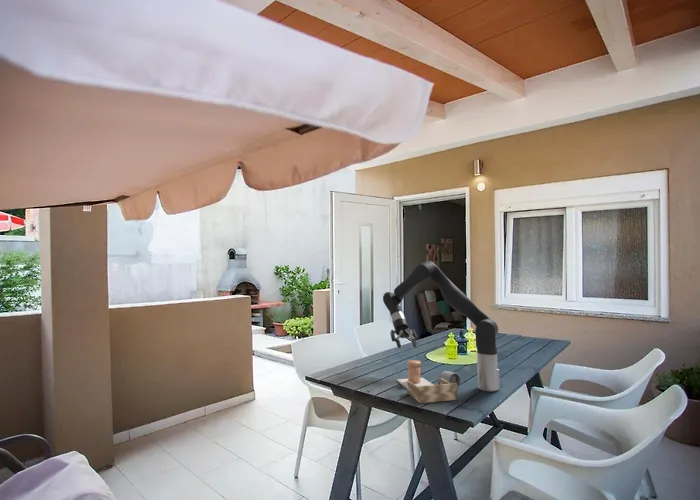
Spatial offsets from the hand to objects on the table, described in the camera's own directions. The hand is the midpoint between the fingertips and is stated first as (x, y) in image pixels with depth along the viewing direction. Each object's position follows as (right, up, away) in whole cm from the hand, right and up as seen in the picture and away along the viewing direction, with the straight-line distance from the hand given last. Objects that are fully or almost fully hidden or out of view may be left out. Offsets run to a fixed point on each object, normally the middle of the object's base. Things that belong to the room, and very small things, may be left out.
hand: (407, 346), depth 207 cm
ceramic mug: (+18, -17, -14) cm, 28 cm away
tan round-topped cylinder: (+2, -15, -9) cm, 18 cm away
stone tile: (+3, -16, -10) cm, 19 cm away
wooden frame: (+7, -16, -27) cm, 32 cm away
